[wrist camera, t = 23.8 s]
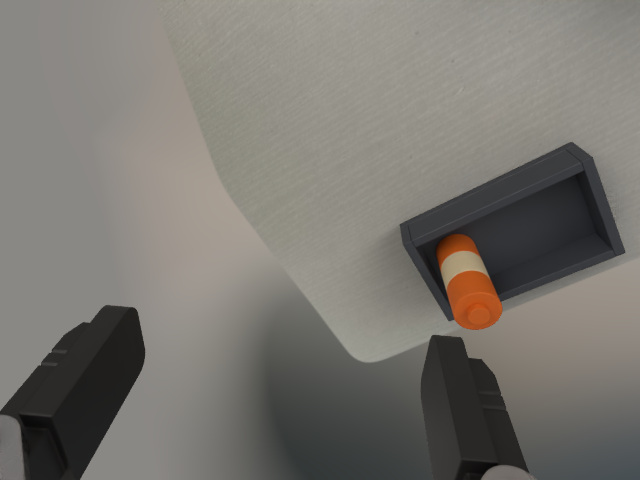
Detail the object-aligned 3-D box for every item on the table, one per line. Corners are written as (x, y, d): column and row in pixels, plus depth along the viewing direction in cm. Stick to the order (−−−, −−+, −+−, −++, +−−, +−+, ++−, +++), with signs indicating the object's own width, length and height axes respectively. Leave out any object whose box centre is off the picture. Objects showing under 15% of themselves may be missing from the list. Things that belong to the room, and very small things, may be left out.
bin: (442, 297, 45) (448, 321, 42) (399, 224, 41) (402, 244, 38) (604, 231, 40) (626, 253, 37) (571, 141, 37) (592, 156, 33)
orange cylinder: (428, 257, 42) (445, 324, 34) (449, 227, 40) (472, 290, 32) (461, 272, 43) (485, 341, 34) (483, 243, 41) (515, 308, 33)
